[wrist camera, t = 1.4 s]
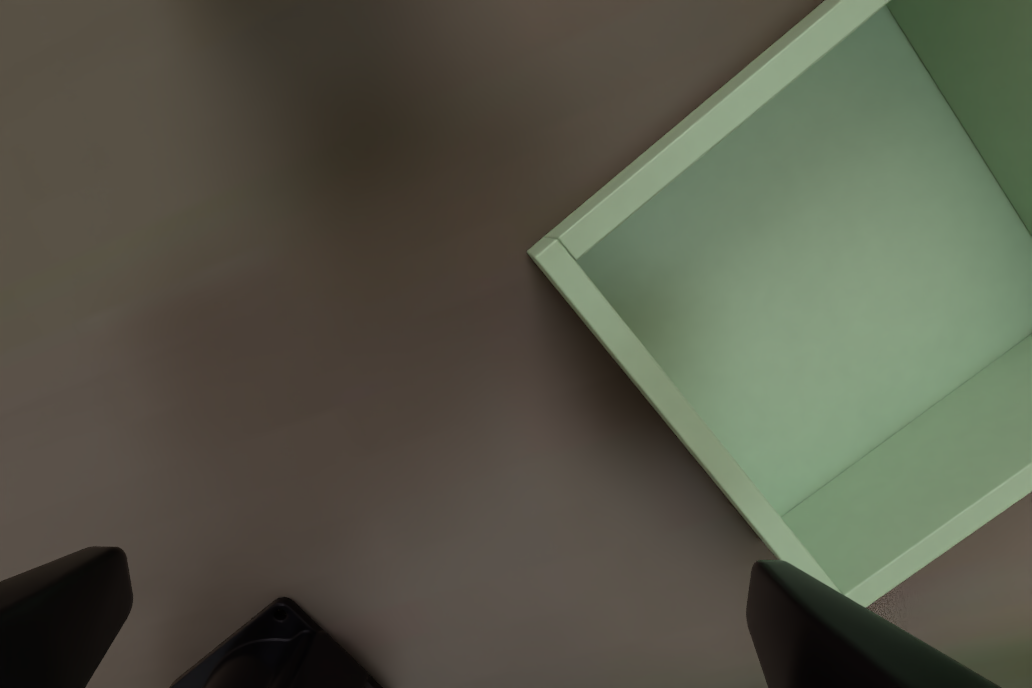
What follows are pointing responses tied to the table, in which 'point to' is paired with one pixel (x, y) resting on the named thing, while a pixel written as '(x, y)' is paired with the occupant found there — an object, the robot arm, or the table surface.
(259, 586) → the table surface
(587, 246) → the mint green tray
